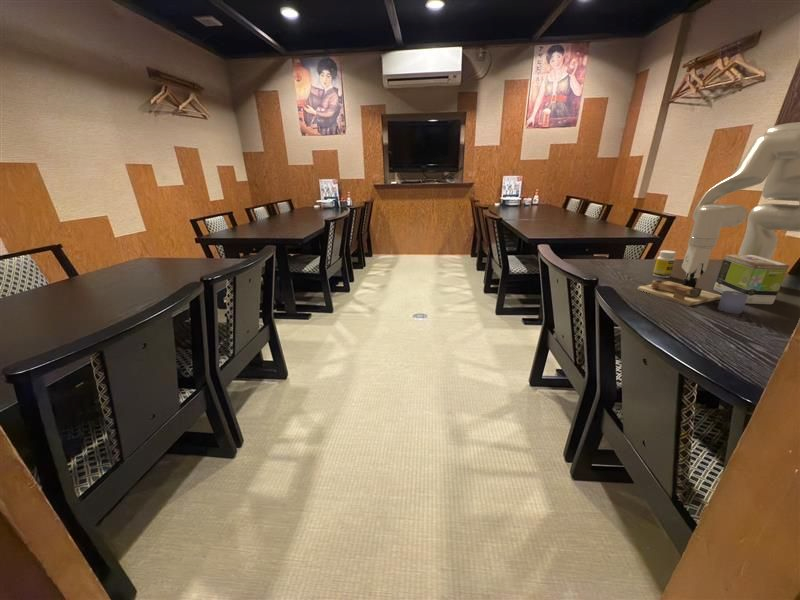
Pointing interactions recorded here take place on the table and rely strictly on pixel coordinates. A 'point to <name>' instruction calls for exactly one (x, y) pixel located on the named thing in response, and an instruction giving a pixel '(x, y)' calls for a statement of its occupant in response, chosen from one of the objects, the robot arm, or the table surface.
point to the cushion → (732, 302)
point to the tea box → (751, 277)
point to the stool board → (681, 295)
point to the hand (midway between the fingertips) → (687, 289)
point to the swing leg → (671, 287)
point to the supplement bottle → (664, 264)
